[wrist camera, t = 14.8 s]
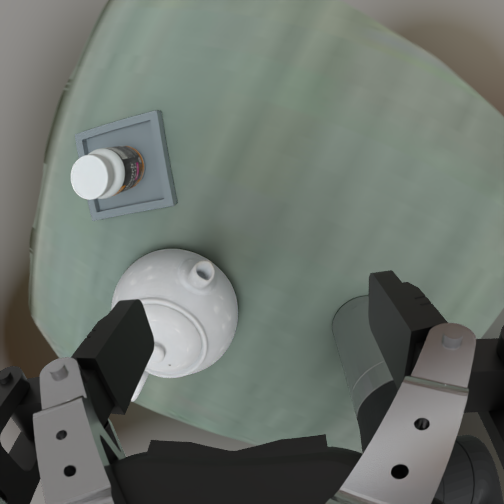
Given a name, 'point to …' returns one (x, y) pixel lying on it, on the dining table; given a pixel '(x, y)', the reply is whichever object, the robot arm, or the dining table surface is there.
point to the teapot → (181, 310)
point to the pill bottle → (107, 172)
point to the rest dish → (155, 159)
